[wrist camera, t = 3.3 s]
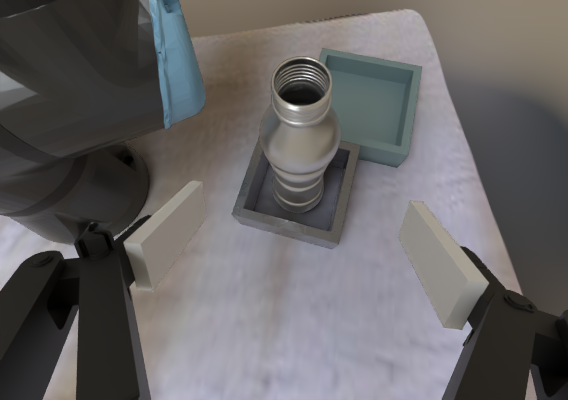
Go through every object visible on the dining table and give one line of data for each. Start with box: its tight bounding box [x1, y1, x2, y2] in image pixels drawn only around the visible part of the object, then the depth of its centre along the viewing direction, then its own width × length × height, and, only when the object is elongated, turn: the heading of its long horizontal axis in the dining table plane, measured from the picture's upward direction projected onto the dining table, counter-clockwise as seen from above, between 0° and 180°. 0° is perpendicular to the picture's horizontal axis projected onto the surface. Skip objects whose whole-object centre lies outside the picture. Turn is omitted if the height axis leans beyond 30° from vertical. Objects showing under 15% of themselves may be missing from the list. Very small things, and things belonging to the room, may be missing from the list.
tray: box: [319, 48, 422, 168], centre depth 35 cm, size 14×14×4 cm
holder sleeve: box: [232, 137, 360, 249], centre depth 31 cm, size 12×12×5 cm
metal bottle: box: [259, 56, 341, 213], centre depth 24 cm, size 6×7×20 cm
